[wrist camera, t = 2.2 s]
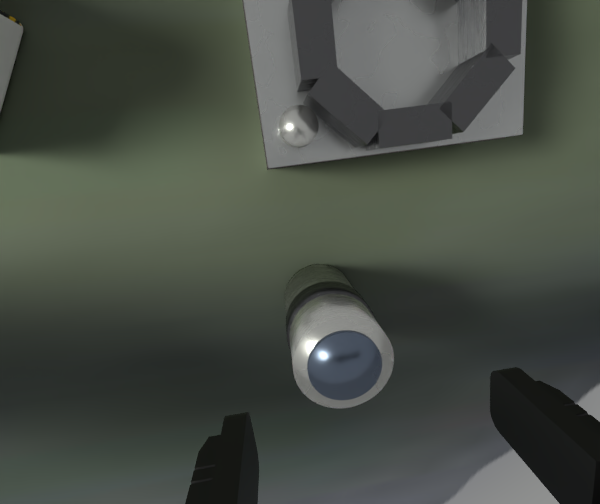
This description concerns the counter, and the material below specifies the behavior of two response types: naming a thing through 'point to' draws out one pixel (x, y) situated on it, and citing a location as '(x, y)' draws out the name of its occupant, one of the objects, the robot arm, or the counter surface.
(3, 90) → the medicine bottle
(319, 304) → the lens
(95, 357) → the counter surface
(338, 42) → the octagon ring plate
